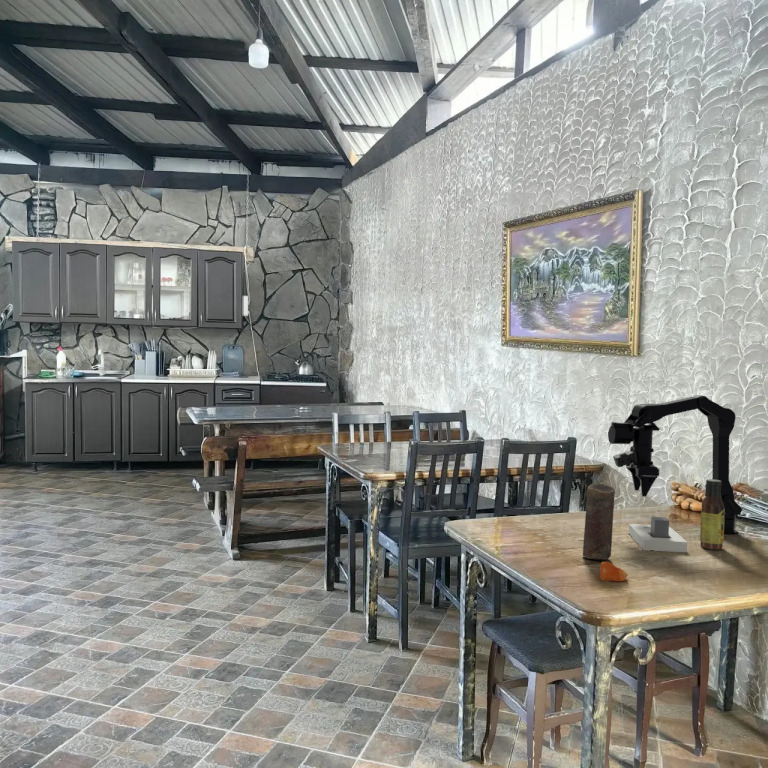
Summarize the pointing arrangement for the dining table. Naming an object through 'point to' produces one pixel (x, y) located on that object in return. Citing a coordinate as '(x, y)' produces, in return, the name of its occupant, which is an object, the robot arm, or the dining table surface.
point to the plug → (659, 527)
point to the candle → (598, 522)
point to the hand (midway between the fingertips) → (640, 493)
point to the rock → (611, 572)
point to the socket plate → (657, 539)
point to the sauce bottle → (712, 517)
